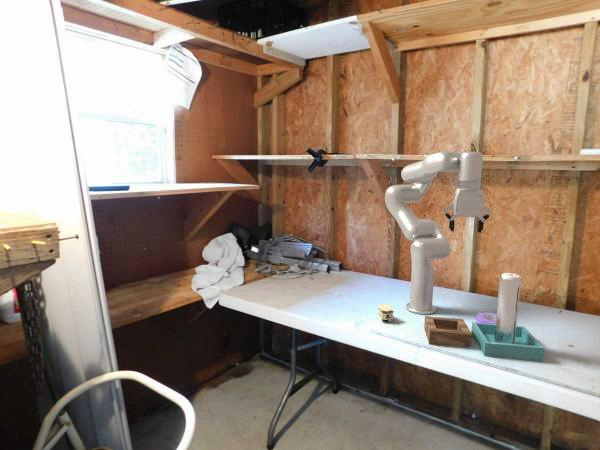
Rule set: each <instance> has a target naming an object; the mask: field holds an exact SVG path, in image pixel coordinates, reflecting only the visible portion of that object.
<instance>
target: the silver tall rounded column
mask: <svg viewBox="0 0 600 450" xmlns="http://www.w3.org/2000/svg"><path fill="white" fill-rule="evenodd" d="M521 285H522V278H521V275H519V274H517V273H512V272H504V273H502V274H501V275H500V276H499V282H498V291H497V293H498V294H497V304H496V313H495V314H496V323H495V334H494V342H496V343H507V344H515V336H516V326H518V316H519V315H518V314H519V305H520V295H521Z"/></svg>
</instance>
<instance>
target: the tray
mask: <svg viewBox="0 0 600 450" xmlns="http://www.w3.org/2000/svg"><path fill="white" fill-rule="evenodd" d="M470 329H471V330H470V332H471V333H472V338H473V339H474V341H475V343H476V345H477V346H478V347H479V350H480V351H481V352H482V355H483V356H484V357H492V358H505V359H516V360H525V361H536V362H544V357H545V349H546V348H545V347H544V346H543V345H542V344H541V342H539V341H538V339H536V337H535V336H534V335H533V334H532V333H531V331H529V330H528V328H526V327H525V326H524V325H517V326H516V336H515V344H507V343H496V342H494V334H495V324H489V323H477V321H473V322H471V328H470Z"/></svg>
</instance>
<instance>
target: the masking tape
mask: <svg viewBox="0 0 600 450" xmlns="http://www.w3.org/2000/svg"><path fill="white" fill-rule="evenodd" d="M476 322H477V323H489V324H495V323H496V313H494V312H480V313H477V315H476Z"/></svg>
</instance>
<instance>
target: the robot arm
mask: <svg viewBox="0 0 600 450" xmlns="http://www.w3.org/2000/svg"><path fill="white" fill-rule="evenodd" d="M483 157H484V156H483V153H482V152H480V151H465V152H463V151H439V152H435V153H432V154H429V155H426V157H425V158H424V159H423V160H420V161H416V162H414V163H411V164H407V165H406V166H404V167H403V168H402V170H401V173H400V175H401V179H402V180H403V181H404V182H405V183H408V184H394V185H391V186H389V187H388V188H387V189H386V190H385V193H384V201H385V206H386V208H387V210H388V212H389V213H390V214H391V215H392V217H393V218H394V219H395V221H396V223H397V224H398V226H399V228H400V230H401V232H402V233H403V236H404V237H405V238H406V239H407V240H408V241H413V242H412V243H411V244H410V247H409V248H410V249H409V250H410V258H411V259H410V260H411V270H410V271H411V276H410V294H409V295H410V296H409V302H407V303H406V304H405V309H406V310H407V311H409V312H411V313H414V314H419V315H431V314H434V313H436V309H437V308H436V307H435V306H434V305H433V299H434V285H435V284H434V283H435V268H434V266H433V263H432V261H436V260H444V259H446V258H448V257H449V256H450V255H451V250H452V249H451V246H450V245H451V244H450V242H449V240H448V238H447V237H446V236H445V234H444V233H443V231H442V229H441V228H440V226H439V224H438V223H437V222H436V221H434V220H432V219H431V218H422V219H421V218H418V217H417V216H416V215H415V213H414V211H413V210H412V209H411V208H410V207H409V206H408V205H406V204H407V203H408V204H412V203H415V204H416V203H418V202H420V201H421V200H422V199H423V197H424V196H425V195H426V193H427V191H428V189H429V187H430V186H431V184H432V183H433V182H432V181H433V180H434V179H435V178H436V177H437V175H438V173H443V172H444V173H445V172H454V173H458V174H459V175H458V181H456V182H454V184H453V185H454V187H457V189H455V192H454V197H453V203H452V204H450V205H448V206H445V207H443V208H442V211H443V213H444V216H445V217H446V218H447V219H448V221H449V225H448V229H449V230H450V232H455V221H454V220H455V219H456V218H457V217H463V218H465V217H466V218H477V219H478V221H477V232H478V233H480V234H481V233H482V231H484V224H485V222H486V221H487V220H488V219H489V218H490V216H491V215H492V213H493V209H491V208H488V207H487V206H485V205H484V191H483V190H482V189H481V182H482V169H483ZM450 210H451V213H452V214H451V215H450V214H449V211H450ZM484 211H485V212H486V213H485V215H483V214H484Z"/></svg>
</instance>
